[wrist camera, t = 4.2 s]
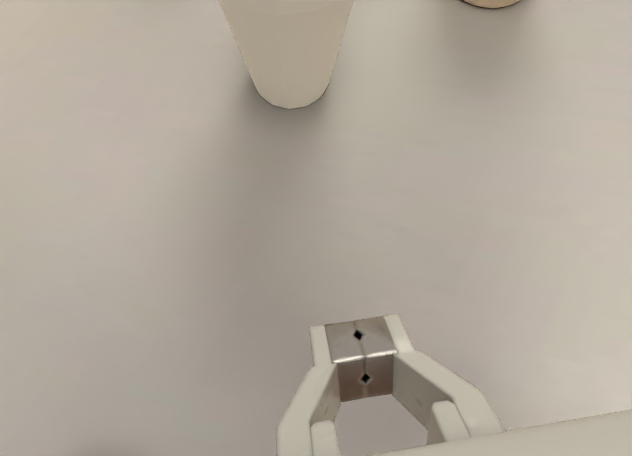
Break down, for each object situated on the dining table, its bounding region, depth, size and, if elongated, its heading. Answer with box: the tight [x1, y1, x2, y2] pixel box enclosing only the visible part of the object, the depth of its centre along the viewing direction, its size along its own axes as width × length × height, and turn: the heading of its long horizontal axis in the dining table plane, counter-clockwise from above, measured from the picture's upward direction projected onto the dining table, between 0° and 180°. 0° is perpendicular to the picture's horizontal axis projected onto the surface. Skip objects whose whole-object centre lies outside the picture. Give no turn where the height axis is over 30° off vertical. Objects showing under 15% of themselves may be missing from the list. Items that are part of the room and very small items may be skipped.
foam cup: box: [219, 0, 353, 109], centre depth 24 cm, size 10×9×13 cm
